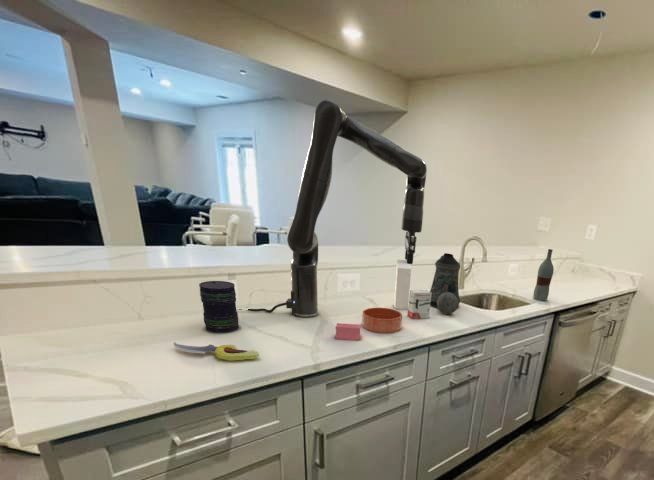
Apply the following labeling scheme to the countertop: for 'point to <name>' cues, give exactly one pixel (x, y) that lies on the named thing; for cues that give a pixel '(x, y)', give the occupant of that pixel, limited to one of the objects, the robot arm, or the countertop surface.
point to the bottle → (544, 278)
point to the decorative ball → (447, 303)
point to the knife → (221, 351)
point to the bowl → (382, 320)
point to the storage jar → (219, 306)
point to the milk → (402, 284)
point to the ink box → (419, 303)
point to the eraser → (348, 331)
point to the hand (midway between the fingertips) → (408, 261)
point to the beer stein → (445, 278)
